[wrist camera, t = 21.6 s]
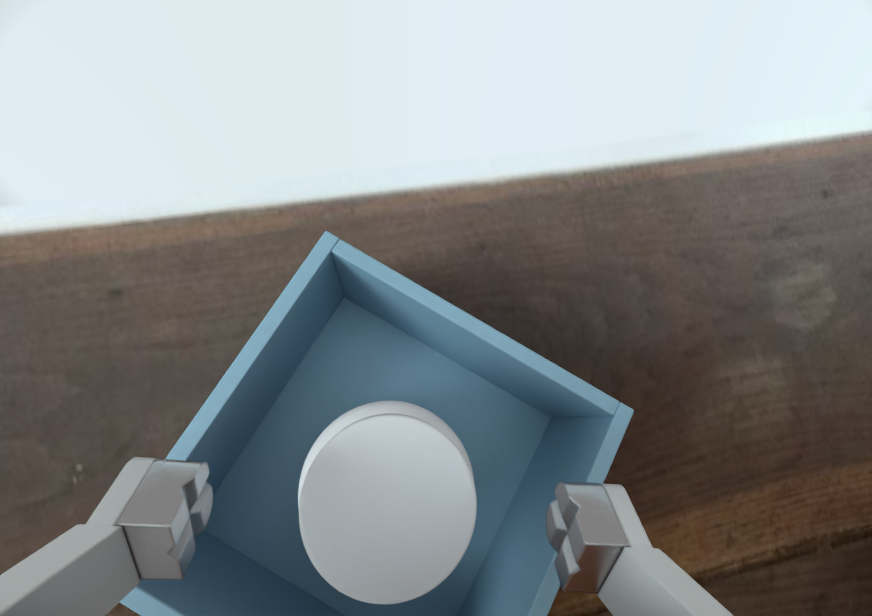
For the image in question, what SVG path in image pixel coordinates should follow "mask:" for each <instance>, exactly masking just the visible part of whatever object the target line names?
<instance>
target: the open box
mask: <svg viewBox="0 0 872 616" xmlns="http://www.w3.org/2000/svg"><path fill="white" fill-rule="evenodd" d="M388 400H394V401H404V402H408V403H412V404H416V405H418V406H421V407H423V408H425V409H427V410H429V411H430V412H432V413H433V414H435V415H436V416H438V417H439V418H441V419H442V420H443V421H444V422H445V423H446V424H447V425H448V426H449V427H450V428H451V429H452V430H453V431H454V433H455V434H456V435H457V437H458V438H459V439H460V441H461V443H462V444H463V446H464V448H465V450H466V452H467V455H468V457H469V460H470V463H471V467H472V471H473V475H474V484H475V489H476V499H477V511H476V521H475V527H474V531H473V534H472V537H471V540H470V543H469V545H468V547H467V549H466V551H465V553H464V555H463V557H462V559H461V560H460V562H459V563H458V565H457V566H456V567H455V569H454V570H453V571H452V572H451V573H450V575H449V576H448V577H447V578H446V579H445V580H444V581H442V582H441V583H440V584H439V585H438V586H436V587H435V588H434V589H432V590H431V591H429V592H427V593H426V594H424V595H422V596H420V597H417V598H415V599H412V600H409V601H405V602H401V603H397V604H372V603H367V602H363V601H359V600H356V599H353V598H351V597H349V596H347V595H345V594H343V593H341V592H339V591H338V590H337V589H335V588H334V587H333V586H331V585H330V584H329V583H328V582H327V581H326V580H325V579H324V578H323V577H322V576H321V575H320V573H319V572H318V571H317V570H316V568H315V567H314V565H313V564H312V562H311V560H310V558H309V556H308V554H307V552H306V550H305V547H304V544H303V541H302V536H301V532H300V526H299V508H298V489H299V481H300V476H301V472H302V468H303V465H304V462H305V460H306V457H307V455H308V453H309V451H310V450H311V448H312V446H313V444H314V443H315V441H316V440H317V438H318V437H319V436H320V434H321V433H322V432H323V431H324V430H325V429H326V428H327V427H328V426H329V425H330V424H331V423H332V422H333V421H334V420H336V419H337V418H338V417H339V416H341V415H342V414H344V413H346V412H348V411H350V410H352V409H354V408H356V407H358V406H361V405H364V404H368V403H372V402H378V401H388ZM633 412H634V410H633V409H632V408H630V407H628V406H626V405H625V404H623V403H621V402H619V401H618V400H616V399H614V398H613V397H611V396H609V395H607V394H606V393H604V392H602V391H601V390H599V389H597V388H595V387H594V386H592V385H590V384H589V383H587V382H585V381H583V380H582V379H580V378H578V377H577V376H575V375H573V374H571V373H570V372H568V371H566V370H564V369H563V368H561V367H559V366H558V365H556V364H554V363H552V362H551V361H549V360H547V359H546V358H544V357H542V356H540V355H539V354H537V353H535V352H534V351H532V350H530V349H528V348H527V347H525V346H523V345H522V344H520V343H518V342H516V341H515V340H513V339H511V338H509V337H508V336H506V335H504V334H503V333H501V332H499V331H497V330H496V329H494V328H492V327H491V326H489V325H487V324H485V323H484V322H482V321H480V320H479V319H477V318H475V317H473V316H472V315H470V314H468V313H466V312H465V311H463V310H461V309H460V308H458V307H456V306H454V305H453V304H451V303H449V302H448V301H446V300H444V299H442V298H441V297H439V296H437V295H436V294H434V293H432V292H430V291H429V290H427V289H425V288H424V287H422V286H420V285H418V284H417V283H415V282H413V281H411V280H410V279H408V278H406V277H405V276H403V275H401V274H399V273H398V272H396V271H394V270H393V269H391V268H389V267H387V266H386V265H384V264H382V263H381V262H379V261H377V260H375V259H374V258H372V257H370V256H368V255H367V254H365V253H363V252H362V251H360V250H358V249H356V248H355V247H353V246H351V245H350V244H348V243H346V242H344V241H343V240H341V239H340V240H339V238H338V237H336V236H334V235H333V234H331V233H329V232H327V231H325V233H324V234H323V235H322V237H321V238H320V240H319V241H318V243H317V244H316V245H315V247H314V248H313V250H312V251H311V252H310V254H309V255H308V257H307V258H306V260H305V261H304V262H303V264H302V265H301V267H300V268H299V270H298V271H297V272H296V274H295V275H294V277H293V278H292V279H291V281H290V282H289V284H288V285H287V287H286V288H285V289H284V291H283V292H282V294H281V295H280V297H279V298H278V299H277V301H276V302H275V304H274V305H273V306H272V308H271V309H270V311H269V312H268V314H267V315H266V316H265V318H264V319H263V321H262V322H261V324H260V325H259V326H258V328H257V329H256V331H255V332H254V333H253V335H252V336H251V338H250V339H249V341H248V342H247V343H246V345H245V346H244V348H243V349H242V350H241V352H240V353H239V355H238V356H237V358H236V359H235V360H234V362H233V363H232V365H231V366H230V368H229V369H228V370H227V372H226V373H225V375H224V376H223V377H222V379H221V380H220V382H219V383H218V385H217V386H216V387H215V389H214V390H213V392H212V393H211V395H210V396H209V397H208V399H207V400H206V402H205V403H204V404H203V406H202V407H201V409H200V410H199V412H198V413H197V414H196V416H195V417H194V419H193V420H192V421H191V423H190V424H189V426H188V427H187V429H186V430H185V431H184V433H183V434H182V436H181V437H180V439H179V440H178V441H177V443H176V444H175V446H174V447H173V448H172V450H171V451H170V453H169V454H168V456H167V457H166V458H165V459H171V460H183V461H195V462H206V463H208V466H209V471H210V474H209V476H208V478H207V480H206V481H207V482H208V483H209V484H210V485H212V488H213V505H212V509H211V513H210V517H209V520H208V522H207V525H206V527H205V530H204V531H202V532H201V533H200V534H199V535H197V536H196V537H195V538H194V540H195V545H196V551H195V554H194V556H193V558H192V561H191V563H190V565H189V568H188V570H187V572H186V575H185V577H184V579H183V580H144V579H140V583H139V584H138V585H137V586H136V587H135V588H134V589H133V590H132V591H131V592H130V593H128V594H127V595H126V596H125V597H124V598H123V599H122V600H121V601H120V603H121V604H123V605H125V606H126V607H128V608H130V609H131V610H133V611H134V612H136V613H138V614H139V615H141V616H547V615H548V613H549V611H550V608H551V606H552V604H553V601H554V599H555V596H556V594H557V592H558V589H559V587H560V582H559V578H558V574H557V571H556V567H555V563H554V562H555V560H556V557H557V555H558V553H557V552H556V551H555V550H554V548H553V547H552V546H551V545H550V544H549V541H548V537H547V532H546V512H547V509H548V506H549V503H551V502H552V501H554V500H555V499H556V496H555V492H554V491H555V488H556V486H557V484H558V483H559V482H561V481H564V482H588V483H599V484H603V483H604V481H605V478H606V476H607V474H608V471H609V469H610V466H611V464H612V462H613V459H614V457H615V455H616V452H617V450H618V448H619V445H620V443H621V440H622V438H623V436H624V433H625V431H626V429H627V426H628V424H629V422H630V419H631V417H632V414H633Z"/></svg>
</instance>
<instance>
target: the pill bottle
mask: <svg viewBox="0 0 872 616" xmlns="http://www.w3.org/2000/svg"><path fill="white" fill-rule="evenodd" d="M298 508H299V526H300V532H301V536H302V541H303V544H304V547H305V550H306V552H307V554H308V556H309V558H310V560H311V562H312V564H313V565H314V567H315V568H316V570H317V571H318V572H319V573H320V575H321V576H322V577H323V578H324V579H325V580H326V581H327V582H328V583H329V584H330V585H331V586H333V587H334V588H335V589H337V590H338V591H339V592H341V593H343V594H345V595H347V596H349V597H351V598H353V599H356V600H359V601H363V602H367V603H372V604H397V603H401V602H405V601H409V600H412V599H415V598H417V597H420V596H422V595H424V594H426V593H427V592H429V591H431V590H432V589H434V588H435V587H436V586H438V585H439V584H440V583H441V582H442V581H444V580H445V579H446V578H447V577H448V576H449V575H450V573H451V572H452V571H453V570H454V569H455V567H456V566H457V565H458V563H459V562H460V560H461V559H462V557H463V555H464V553H465V551H466V549H467V547H468V545H469V543H470V540H471V537H472V534H473V531H474V527H475V521H476V511H477V499H476V489H475V484H474V475H473V471H472V467H471V463H470V460H469V457H468V455H467V452H466V450H465V448H464V446H463V444H462V443H461V441H460V439H459V438H458V437H457V435H456V434H455V433H454V431H453V430H452V429H451V428H450V427H449V426H448V425H447V424H446V423H445V422H444V421H443V420H442V419H441V418H439V417H438V416H436V415H435V414H433V413H432V412H430V411H429V410H427V409H425V408H423V407H421V406H418V405H416V404H412V403H408V402H404V401H394V400H388V401H378V402H372V403H368V404H364V405H361V406H358V407H356V408H354V409H352V410H350V411H348V412H346V413H344V414H342V415H341V416H339V417H338V418H337V419H336V420H334V421H333V422H332V423H331V424H330V425H329V426H328V427H327V428H326V429H325V430H324V431H323V432H322V433H321V434H320V436H319V437H318V438H317V440H316V441H315V443H314V444H313V446H312V448H311V450H310V451H309V453H308V455H307V457H306V460H305V462H304V465H303V468H302V472H301V476H300V481H299V489H298Z"/></svg>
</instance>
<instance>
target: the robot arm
mask: <svg viewBox="0 0 872 616" xmlns="http://www.w3.org/2000/svg"><path fill="white" fill-rule="evenodd" d="M209 474H210V471H209V466H208V463H206V462H195V461H183V460H171V459H159V458H143V457H134V458H132V459H131V460H130V461H129V462H127V463H126V465H125V466H124V468H123V469H122V471H121V472H120V474H119V475H118V477H117V478H116V480H115V481H114V483H113V484H112V486H111V487H110V489H109V490H108V492H107V493H106V494H105V496H104V497H103V499H102V500H101V502H100V503H99V505H98V506H97V508H96V509H95V511H94V512H93V514H92V515H91V517H90V518H89V520H88V521H87V523H86V524H77V525H76V526H74V527H73V528H71V529H70V530H68V531H67V532H65V533H64V534H62V535H61V536H59V537H58V538H56V539H55V540H53V541H51V542H50V543H48V544H47V545H45V546H44V547H42V548H41V549H39V550H38V551H36V552H35V553H33V554H32V555H30V556H29V557H27V558H26V559H24V560H23V561H21V562H20V563H18V564H17V565H15V566H13V567H12V568H10V569H9V570H7V571H6V572H4V573H3V574H1V575H0V616H105V615H106V614H107V613H108V612H110V611H111V610H112V609H113V608H114V607H115V606H116V605H117V604H118V603H119V602H120V601H121V600H122V599H123V598H124V597H125V596H126V595H127V594H128V593H130V592H131V591H132V590H133V589H134V588H135V587H136V586H137V585H138V584H139V583H140V579H144V580H183V579H184V577H185V575H186V572H187V570H188V568H189V565H190V563H191V561H192V558H193V556H194V554H195V551H196V545H195V540H194V538H195V537H196V536H197V535H199V534H200V533H201V532H202V531H204V530H205V527H206V525H207V522H208V520H209V517H210V513H211V509H212V505H213V488H212V485H210V484H209V483H208V482H207V481H206V480H207V478H208V476H209ZM554 492H555V496H556V499H555V500H554V501H552V502H551V503H549V506H548V509H547V512H546V532H547V537H548V541H549V544H550V545H551V546H552V547H553V548H554V550H555V551H556V552H557V553H558V555H557V557H556V560H555V562H554V563H555V567H556V571H557V574H558V578H559V582H560V585H561V589H562V591H566V592H582V593H598V595H597V596H598V597H599V598H600V600H601V601H602V602H603V603H604V605H605V606H606V607H607V609H608V610H609V611H610V612H611V614H612V615H613V616H734V615H732V614H731V613H730V612H729V611H728V610H727V609H726V608H725V607H724V606H722V605H721V604H720V603H719V602H718V601H717V600H716V599H715V598H714V597H712V596H711V595H710V594H709V593H708V592H707V591H706V590H705V589H704V588H702V587H701V586H700V585H699V584H698V583H697V582H696V581H695V580H694V579H692V578H691V577H690V576H689V575H688V574H687V573H686V572H685V571H684V570H682V569H681V568H680V567H679V566H678V565H677V564H676V563H675V562H674V561H672V560H671V559H670V558H669V557H668V556H667V555H666V554H665V553H664V552H662V551H661V550H660V549H659V548H653V547H652V545H651V543H650V540H649V538H648V536H647V534H646V532H645V530H644V528H643V526H642V524H641V521H640V519H639V517H638V515H637V513H636V511H635V509H634V507H633V505H632V502H631V500H630V498H629V496H628V494H627V492H626V490H625V488H624V487H623V486H622V485H618V484H599V483H588V482H564V481H561V482H559V483H558V484H557V486H556V488H555V491H554Z"/></svg>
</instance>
